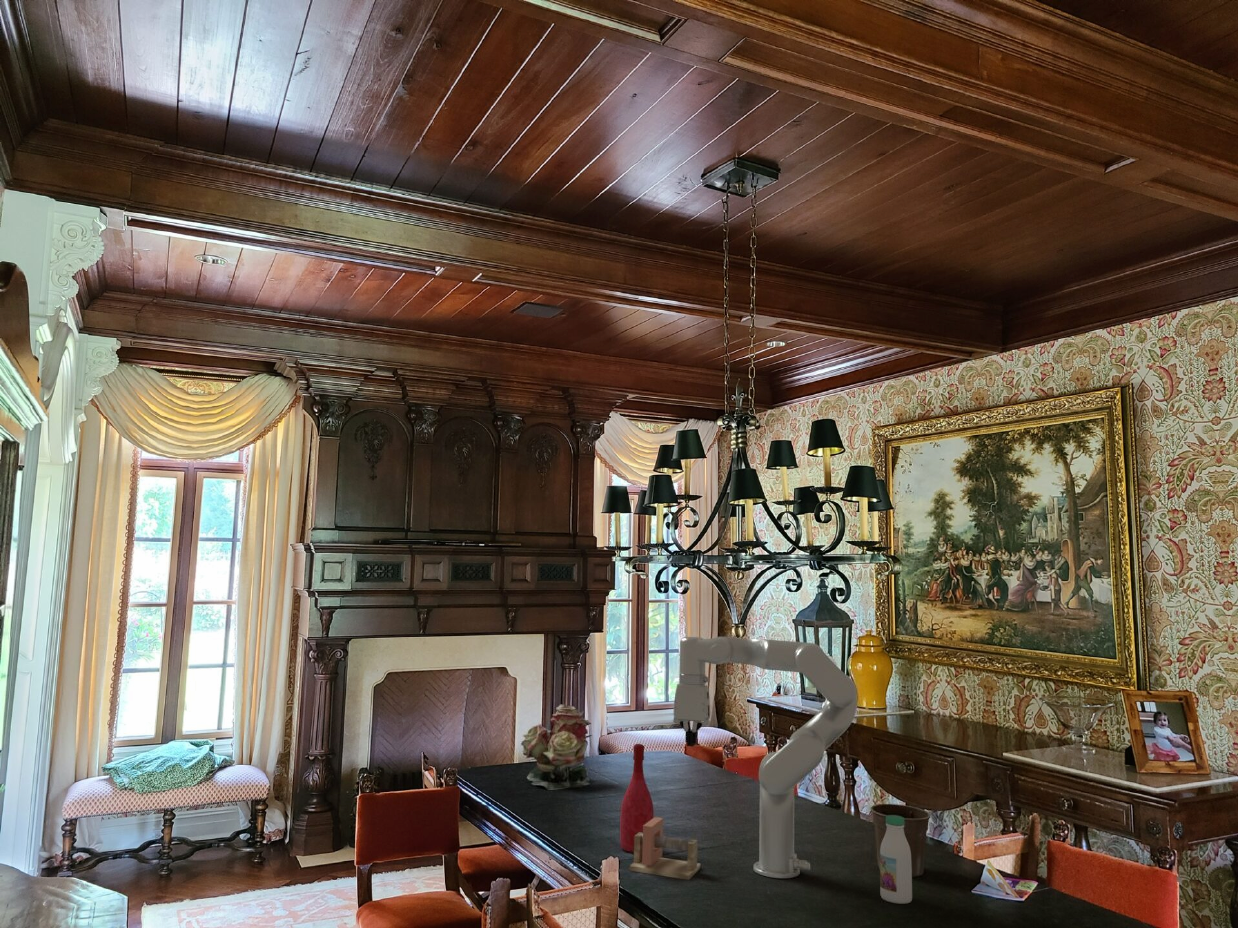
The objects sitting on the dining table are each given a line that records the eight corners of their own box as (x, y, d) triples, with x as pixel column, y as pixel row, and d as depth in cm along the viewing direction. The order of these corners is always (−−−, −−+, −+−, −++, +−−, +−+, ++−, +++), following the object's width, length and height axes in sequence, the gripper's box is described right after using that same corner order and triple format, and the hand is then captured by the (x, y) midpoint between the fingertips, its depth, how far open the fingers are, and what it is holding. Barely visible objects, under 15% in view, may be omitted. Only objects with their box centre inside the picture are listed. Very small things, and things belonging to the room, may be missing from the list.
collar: (662, 855, 242) (663, 817, 243) (650, 865, 233) (651, 826, 234) (653, 853, 243) (654, 816, 244) (642, 863, 234) (643, 825, 235)
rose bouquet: (513, 777, 343) (517, 700, 348) (581, 773, 355) (584, 699, 359) (533, 792, 320) (536, 709, 325) (605, 787, 331) (607, 707, 336)
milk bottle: (905, 893, 222) (904, 813, 225) (916, 904, 214) (915, 820, 217) (876, 893, 222) (875, 812, 225) (886, 904, 214) (885, 820, 217)
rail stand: (700, 867, 238) (700, 835, 239) (689, 879, 228) (689, 845, 229) (642, 859, 244) (643, 827, 245) (629, 870, 234) (630, 837, 235)
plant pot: (942, 872, 241) (941, 812, 243) (914, 884, 230) (913, 821, 232) (889, 857, 253) (888, 800, 255) (860, 868, 242) (859, 808, 244)
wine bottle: (624, 854, 248) (627, 747, 252) (615, 844, 257) (618, 741, 262) (657, 852, 250) (659, 746, 255) (647, 843, 260) (649, 740, 264)
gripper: (720, 680, 250) (719, 745, 247) (671, 677, 255) (670, 741, 253) (713, 683, 243) (712, 750, 240) (663, 679, 248) (662, 745, 246)
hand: (691, 745), depth 247 cm, fingers closed
